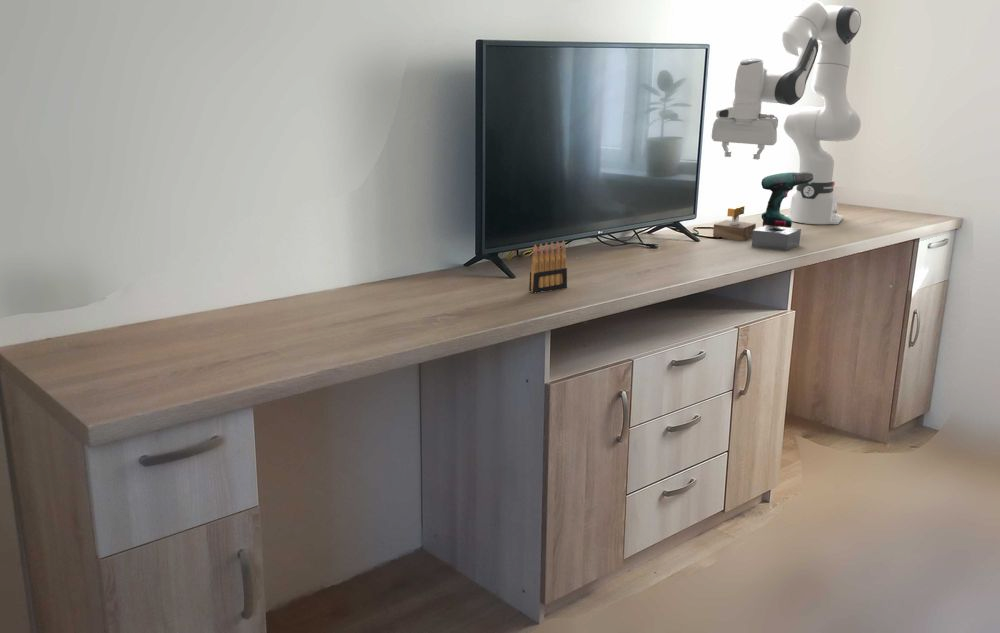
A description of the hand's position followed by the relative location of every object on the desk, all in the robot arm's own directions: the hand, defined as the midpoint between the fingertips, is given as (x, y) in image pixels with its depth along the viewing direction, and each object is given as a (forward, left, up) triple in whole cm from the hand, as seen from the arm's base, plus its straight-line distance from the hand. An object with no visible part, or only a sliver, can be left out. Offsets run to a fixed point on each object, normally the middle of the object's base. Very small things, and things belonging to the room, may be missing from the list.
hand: (741, 158), depth 299 cm
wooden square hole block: (0, 0, -25) cm, 25 cm away
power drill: (-16, +10, -25) cm, 31 cm away
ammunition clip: (+96, -8, -25) cm, 100 cm away
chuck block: (+6, +16, -25) cm, 30 cm away
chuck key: (0, 0, -25) cm, 25 cm away
